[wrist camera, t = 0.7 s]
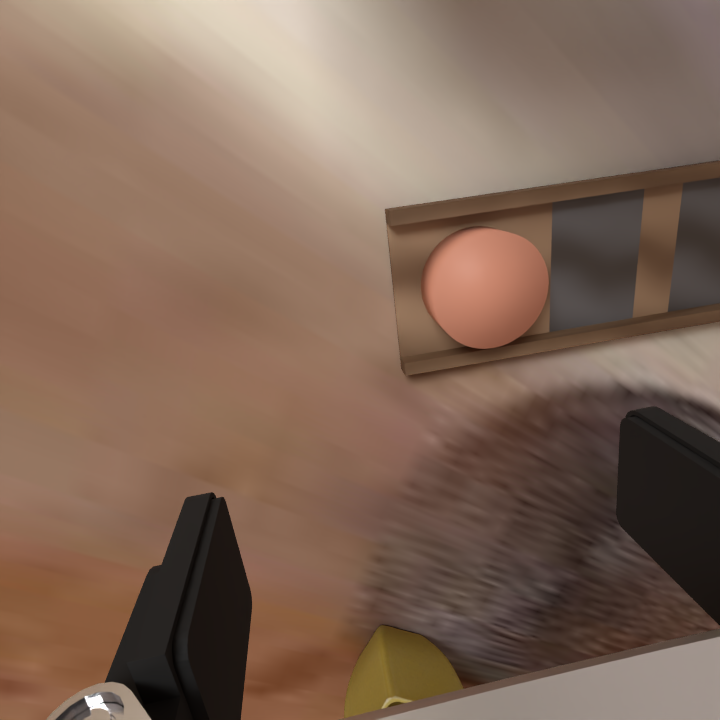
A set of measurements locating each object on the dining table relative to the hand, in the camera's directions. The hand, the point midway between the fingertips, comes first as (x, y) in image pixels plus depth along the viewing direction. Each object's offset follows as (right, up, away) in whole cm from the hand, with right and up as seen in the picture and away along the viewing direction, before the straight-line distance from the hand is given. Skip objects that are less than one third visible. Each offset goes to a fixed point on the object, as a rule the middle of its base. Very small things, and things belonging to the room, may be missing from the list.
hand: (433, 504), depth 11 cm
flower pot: (+1, -25, +38) cm, 45 cm away
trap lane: (+22, +12, +26) cm, 36 cm away
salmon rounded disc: (+7, +9, +24) cm, 27 cm away
